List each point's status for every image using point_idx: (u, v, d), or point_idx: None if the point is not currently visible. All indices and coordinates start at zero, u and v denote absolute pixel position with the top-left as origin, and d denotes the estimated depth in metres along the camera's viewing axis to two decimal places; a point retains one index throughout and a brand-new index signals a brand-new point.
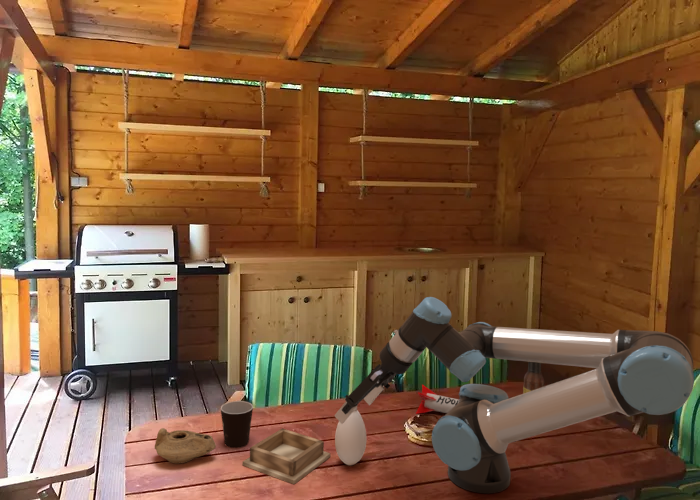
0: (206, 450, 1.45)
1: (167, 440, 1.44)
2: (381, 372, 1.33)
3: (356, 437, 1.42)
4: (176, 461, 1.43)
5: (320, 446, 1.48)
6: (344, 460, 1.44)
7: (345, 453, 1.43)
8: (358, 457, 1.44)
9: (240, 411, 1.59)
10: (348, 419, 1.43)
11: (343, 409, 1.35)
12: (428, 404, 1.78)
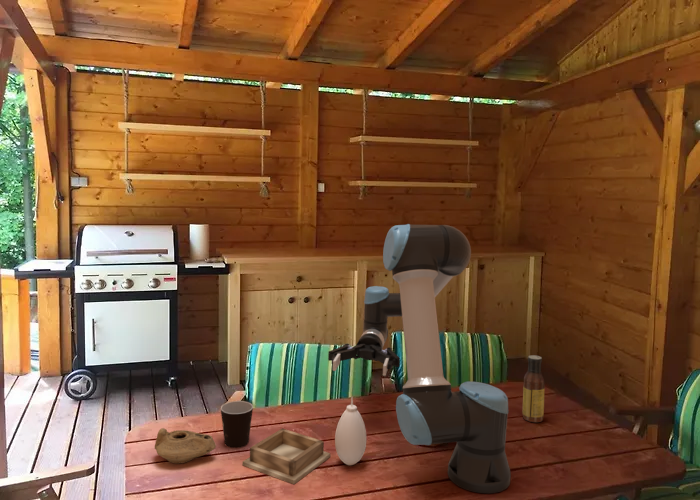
0: (206, 450, 1.45)
1: (167, 440, 1.44)
2: None
3: (356, 437, 1.42)
4: (176, 461, 1.43)
5: (320, 446, 1.48)
6: (344, 460, 1.44)
7: (345, 453, 1.43)
8: (358, 457, 1.44)
9: (240, 411, 1.59)
10: (348, 419, 1.43)
11: None
12: None
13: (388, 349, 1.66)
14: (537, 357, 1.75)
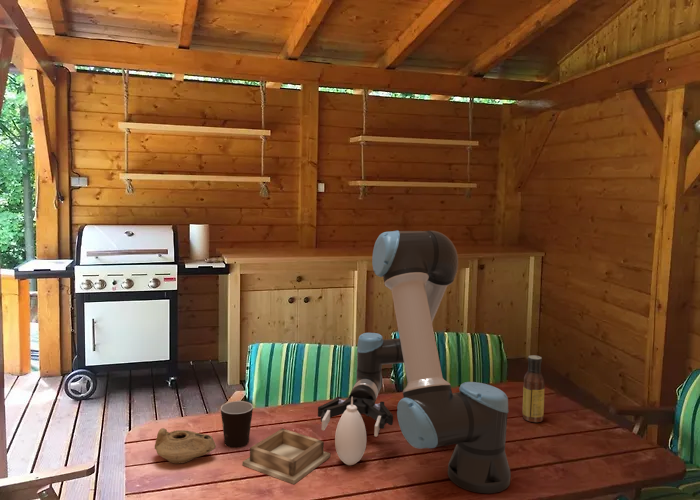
0: (206, 450, 1.45)
1: (167, 440, 1.44)
2: None
3: (356, 437, 1.42)
4: (176, 461, 1.43)
5: (320, 446, 1.48)
6: (344, 460, 1.44)
7: (345, 453, 1.43)
8: (358, 457, 1.44)
9: (240, 411, 1.59)
10: (348, 419, 1.43)
11: (321, 419, 1.50)
12: None
13: (381, 404, 1.58)
14: (537, 357, 1.75)
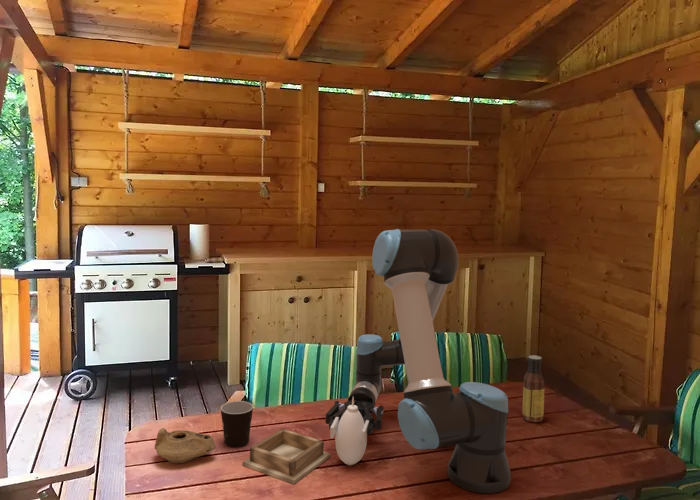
0: (206, 450, 1.45)
1: (167, 440, 1.44)
2: None
3: (357, 437, 1.42)
4: (176, 461, 1.43)
5: (320, 446, 1.48)
6: (344, 460, 1.44)
7: (345, 453, 1.43)
8: (358, 457, 1.44)
9: (240, 411, 1.59)
10: (349, 419, 1.43)
11: (329, 426, 1.46)
12: None
13: (379, 408, 1.55)
14: (537, 357, 1.75)
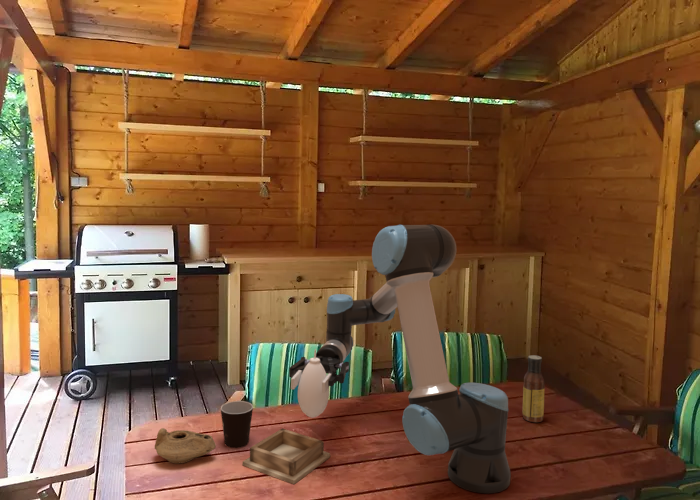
0: (206, 450, 1.45)
1: (167, 440, 1.44)
2: None
3: (318, 389, 1.42)
4: (176, 461, 1.43)
5: (320, 446, 1.48)
6: (306, 412, 1.44)
7: (307, 404, 1.43)
8: (320, 409, 1.44)
9: (240, 411, 1.59)
10: (310, 371, 1.43)
11: None
12: None
13: (344, 363, 1.54)
14: (537, 357, 1.75)
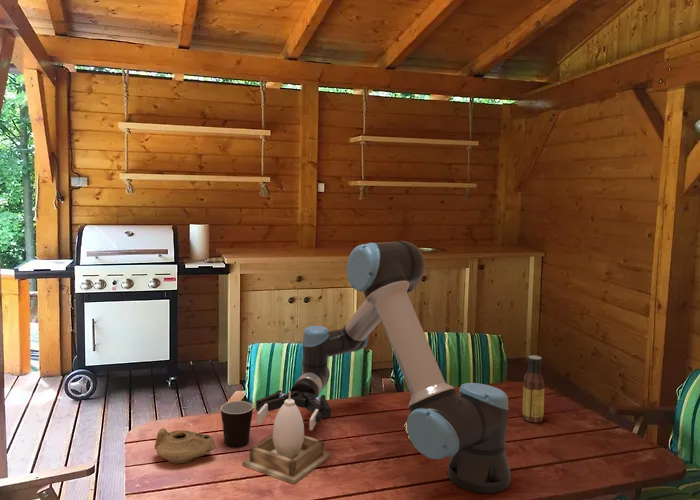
0: (206, 450, 1.45)
1: (167, 440, 1.44)
2: None
3: (293, 431, 1.42)
4: (176, 461, 1.43)
5: (320, 446, 1.48)
6: (281, 454, 1.44)
7: (281, 447, 1.43)
8: (295, 451, 1.44)
9: (240, 411, 1.59)
10: (285, 413, 1.43)
11: None
12: None
13: (322, 397, 1.55)
14: (537, 357, 1.75)
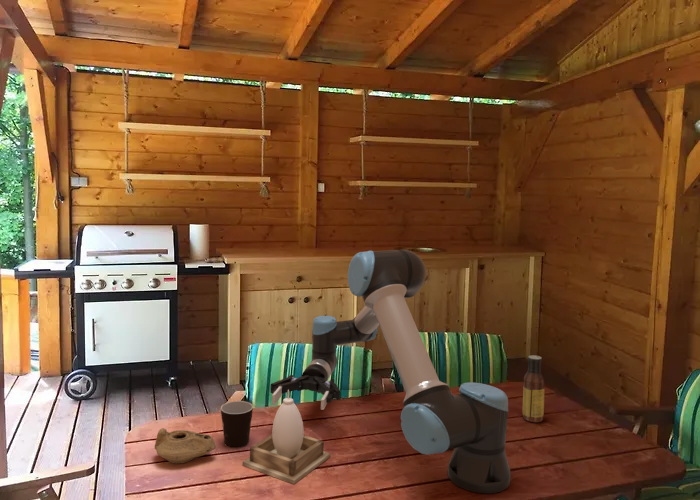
0: (206, 450, 1.45)
1: (167, 440, 1.44)
2: None
3: (292, 430, 1.43)
4: (176, 461, 1.43)
5: (320, 446, 1.48)
6: (281, 453, 1.44)
7: (281, 446, 1.43)
8: (294, 450, 1.44)
9: (240, 411, 1.59)
10: (284, 412, 1.43)
11: (272, 394, 1.60)
12: None
13: (331, 381, 1.67)
14: (537, 357, 1.75)
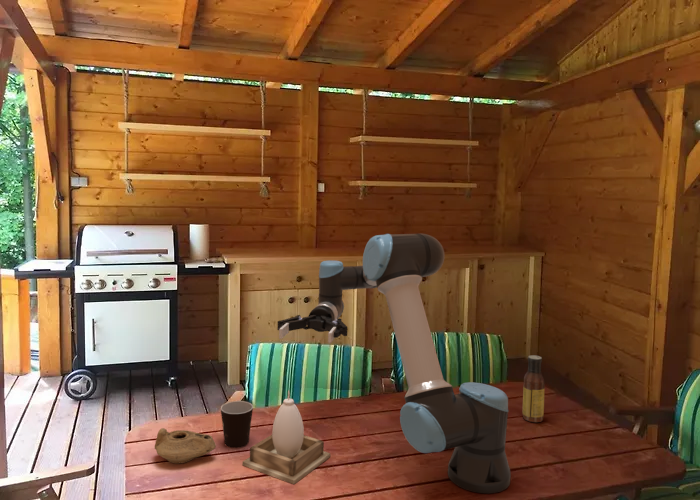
0: (206, 450, 1.45)
1: (167, 440, 1.44)
2: None
3: (292, 431, 1.43)
4: (176, 461, 1.43)
5: (320, 446, 1.48)
6: (281, 454, 1.44)
7: (281, 446, 1.43)
8: (294, 451, 1.44)
9: (240, 411, 1.59)
10: (284, 412, 1.43)
11: None
12: None
13: (338, 320, 1.67)
14: (537, 357, 1.75)
